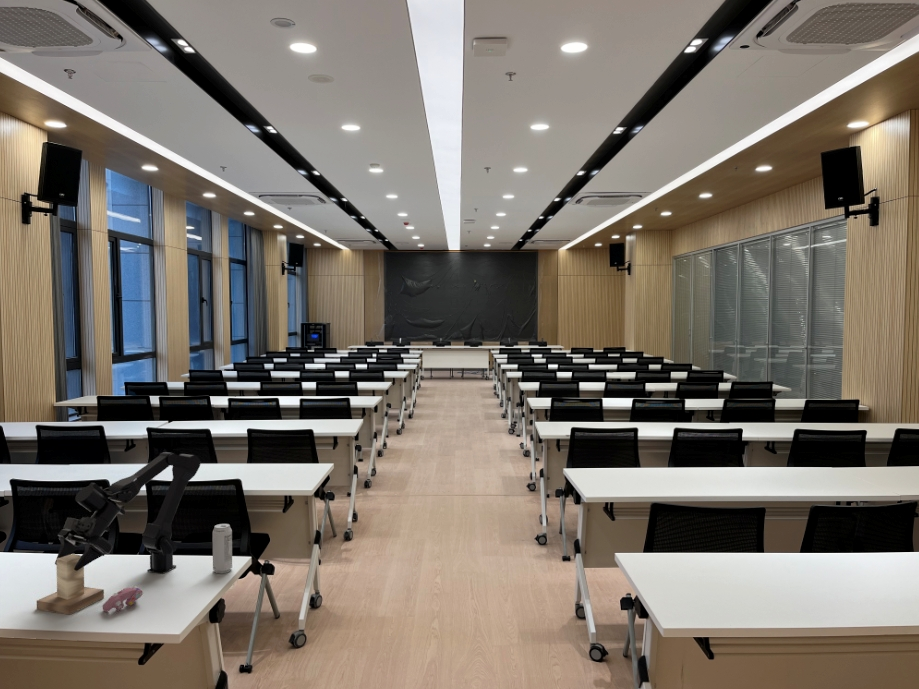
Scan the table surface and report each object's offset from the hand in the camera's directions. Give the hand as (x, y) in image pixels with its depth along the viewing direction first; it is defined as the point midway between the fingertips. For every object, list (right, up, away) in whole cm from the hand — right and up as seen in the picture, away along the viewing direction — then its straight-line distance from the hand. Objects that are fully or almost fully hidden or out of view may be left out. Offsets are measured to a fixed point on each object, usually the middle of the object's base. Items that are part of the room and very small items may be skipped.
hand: (65, 567), depth 193 cm
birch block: (+1, -9, +1) cm, 9 cm away
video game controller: (+17, -11, -1) cm, 21 cm away
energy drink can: (+36, -10, +27) cm, 46 cm away
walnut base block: (+1, -11, +2) cm, 11 cm away
